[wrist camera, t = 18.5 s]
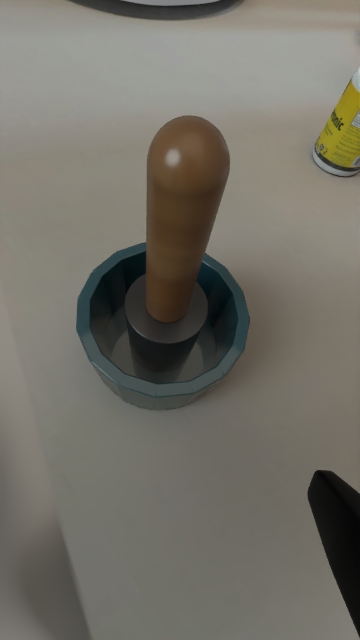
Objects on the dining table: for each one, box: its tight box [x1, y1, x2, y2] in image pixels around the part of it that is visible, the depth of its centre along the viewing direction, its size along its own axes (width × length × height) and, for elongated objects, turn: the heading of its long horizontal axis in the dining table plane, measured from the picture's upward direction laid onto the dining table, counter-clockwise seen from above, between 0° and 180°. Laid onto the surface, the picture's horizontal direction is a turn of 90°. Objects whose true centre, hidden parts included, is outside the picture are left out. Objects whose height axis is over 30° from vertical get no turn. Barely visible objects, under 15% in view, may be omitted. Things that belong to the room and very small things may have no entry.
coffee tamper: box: [124, 116, 230, 372], centre depth 12 cm, size 4×4×13 cm
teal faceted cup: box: [76, 242, 250, 410], centre depth 16 cm, size 8×8×5 cm
